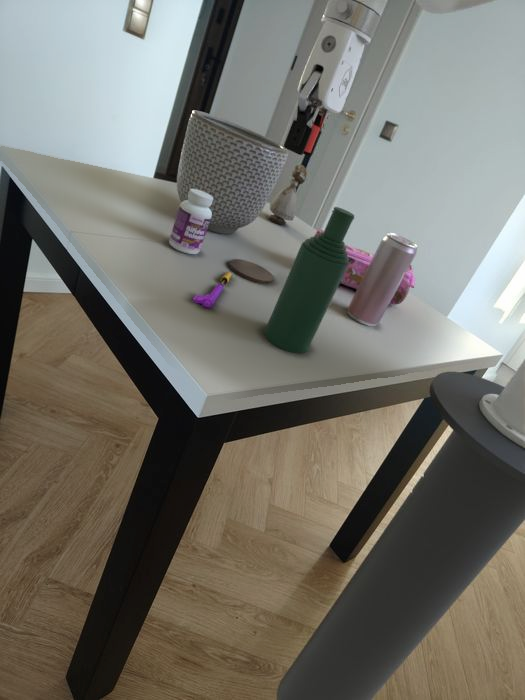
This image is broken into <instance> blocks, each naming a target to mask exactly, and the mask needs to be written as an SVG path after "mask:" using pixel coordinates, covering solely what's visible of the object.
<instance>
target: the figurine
mask: <svg viewBox="0 0 525 700" xmlns="http://www.w3.org/2000/svg"><path fill="white" fill-rule="evenodd" d="M307 172H308V171H307V169H306V167H305V166H304V165H303V164H302V163H298V164H297V165H295V167H294V170H293V171H292V173H291V177H292V178H291V179H290V181H289V183H290V184H289V185H287V186H286V187H284V188H283V189H281V190H280V191H279V192H278V193H277V194H275V196H274V197H273V199H272V200H271V202H270V204H269V211H270V212H271V213H272V214H271V215H269V220H270V221H272V222H274V223H276V224H277V225H281V226H285V225H286V223H287V222H286V221H294V218H295V216H296V215H295V213H296V208H297V202H298V198H297V197H298V196H297V187H298V186H299V185H302V184H303V183H304V182H306V181H307Z"/></svg>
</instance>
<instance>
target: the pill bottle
mask: <svg viewBox="0 0 525 700" xmlns="http://www.w3.org/2000/svg"><path fill="white" fill-rule="evenodd" d="M212 201H213V197H212V196H211V195H209V194H207V193H205V192H203V191H200V190H197V189H190V191H189V193H188V200H185V201H183V202H180V204H179V207H178V211H177V214H176V217H175V220H174V223H173V226H172V230H171V233H170V236H169V239H168V242H169V245H170V246H171V247H172V248H173V249H175V250H176V251H179V252H181V253H185V254H188V255H197V254H199V253H200V252H201V248H202V246H203V243H204V240H205V237H206V235H207V232H208V230H207V229H208V226H209V223H210V220H211V217H212V212H211V210H210V209H209V207H210V206H211V205H212Z"/></svg>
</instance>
